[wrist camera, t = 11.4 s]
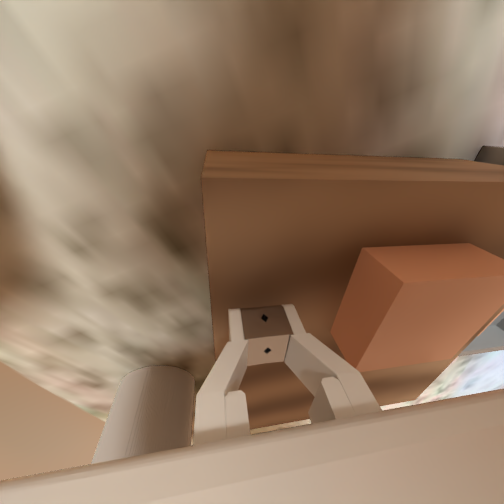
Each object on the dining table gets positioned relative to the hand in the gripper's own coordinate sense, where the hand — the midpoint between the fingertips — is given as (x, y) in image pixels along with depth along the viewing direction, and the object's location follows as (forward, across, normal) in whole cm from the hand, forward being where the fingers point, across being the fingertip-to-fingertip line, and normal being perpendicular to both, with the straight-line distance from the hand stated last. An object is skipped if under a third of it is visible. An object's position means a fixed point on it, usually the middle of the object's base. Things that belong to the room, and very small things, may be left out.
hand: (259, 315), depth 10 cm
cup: (+9, +10, +22) cm, 26 cm away
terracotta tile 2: (+1, -8, 0) cm, 8 cm away
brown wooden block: (+9, -8, +5) cm, 13 cm away
